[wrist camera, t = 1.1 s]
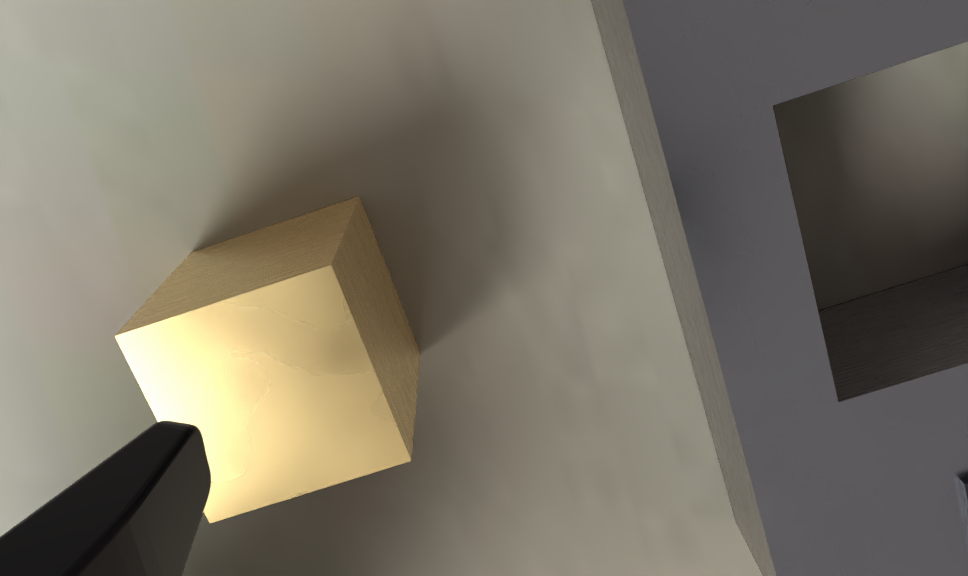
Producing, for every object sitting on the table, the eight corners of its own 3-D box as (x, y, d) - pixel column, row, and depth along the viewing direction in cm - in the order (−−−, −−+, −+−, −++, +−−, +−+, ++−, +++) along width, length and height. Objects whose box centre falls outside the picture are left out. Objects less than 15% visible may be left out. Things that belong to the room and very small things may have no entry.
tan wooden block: (262, 403, 22) (209, 523, 17) (192, 251, 21) (114, 336, 16) (420, 352, 22) (411, 461, 17) (359, 195, 20) (331, 265, 16)
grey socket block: (736, 522, 23) (793, 637, 19) (553, -134, 18) (581, -161, 14) (1131, 406, 23) (1276, 499, 19) (1058, -314, 17) (1236, -396, 13)
